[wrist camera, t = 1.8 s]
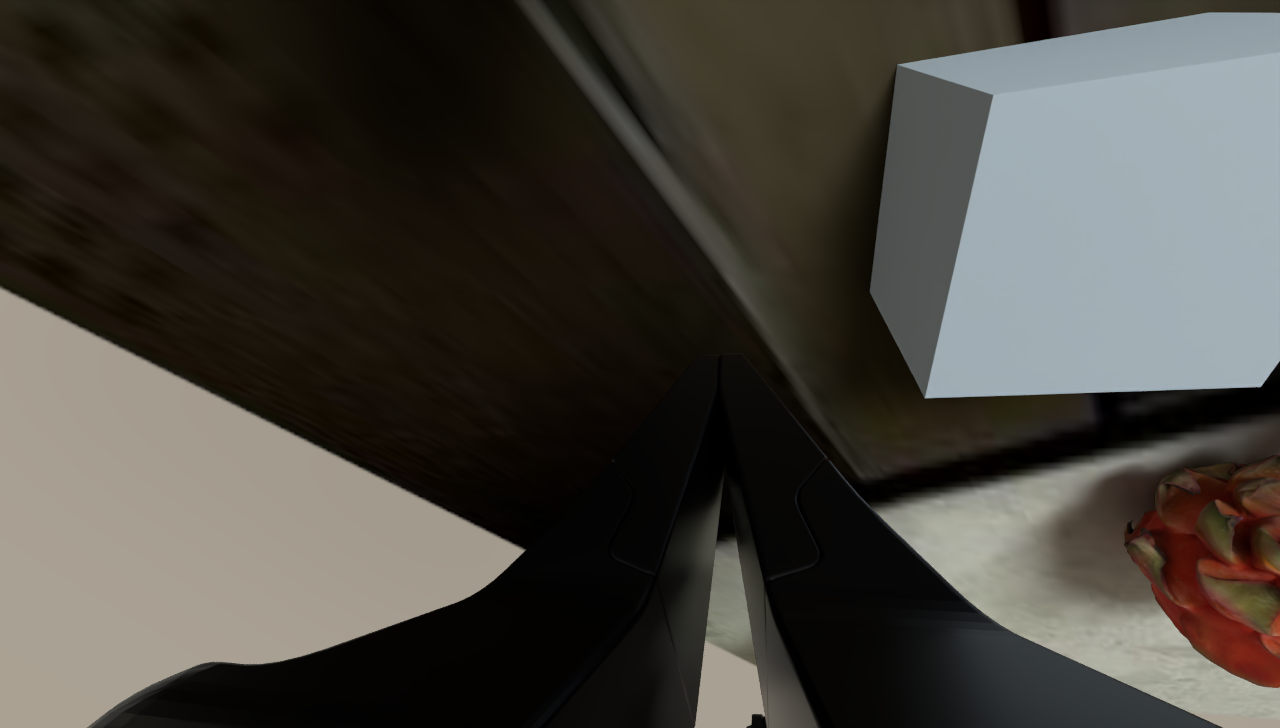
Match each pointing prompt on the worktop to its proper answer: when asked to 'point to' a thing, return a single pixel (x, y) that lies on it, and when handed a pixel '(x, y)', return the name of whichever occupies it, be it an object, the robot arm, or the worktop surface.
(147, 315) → the worktop surface
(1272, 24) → the slate block
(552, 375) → the worktop surface
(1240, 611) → the dragon fruit
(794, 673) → the robot arm
